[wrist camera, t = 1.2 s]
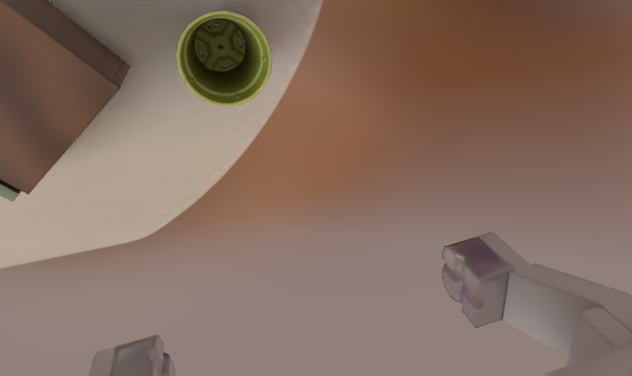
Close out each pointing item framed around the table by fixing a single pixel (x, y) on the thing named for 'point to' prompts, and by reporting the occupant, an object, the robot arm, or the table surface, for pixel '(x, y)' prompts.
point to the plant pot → (224, 58)
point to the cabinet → (47, 87)
